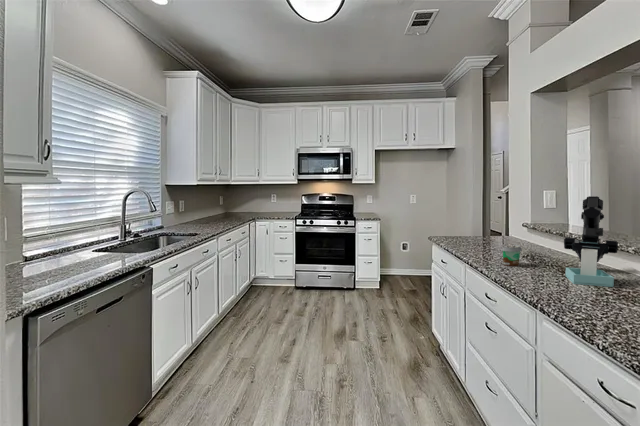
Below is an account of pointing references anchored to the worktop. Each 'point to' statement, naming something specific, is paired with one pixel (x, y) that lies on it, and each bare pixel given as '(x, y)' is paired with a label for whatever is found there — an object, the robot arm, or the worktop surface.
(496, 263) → the worktop surface
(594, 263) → the white hollow square box
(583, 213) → the robot arm
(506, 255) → the food container
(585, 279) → the crate
